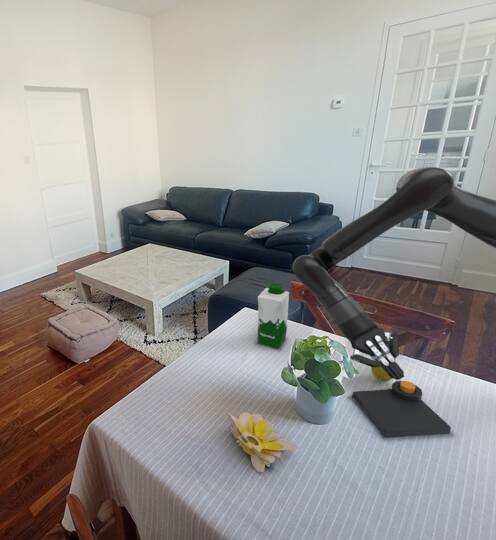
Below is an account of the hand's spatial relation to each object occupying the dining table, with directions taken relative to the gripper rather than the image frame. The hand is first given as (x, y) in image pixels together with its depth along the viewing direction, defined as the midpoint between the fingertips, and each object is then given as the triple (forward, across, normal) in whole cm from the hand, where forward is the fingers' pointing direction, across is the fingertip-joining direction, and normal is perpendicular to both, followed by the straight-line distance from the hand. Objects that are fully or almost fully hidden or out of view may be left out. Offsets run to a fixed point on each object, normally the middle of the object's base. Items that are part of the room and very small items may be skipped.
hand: (400, 378), depth 81 cm
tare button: (+4, +2, +6) cm, 7 cm away
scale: (+7, -5, +4) cm, 9 cm away
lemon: (+1, +1, +13) cm, 13 cm away
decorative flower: (-2, -39, -6) cm, 40 cm away
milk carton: (-23, -14, +28) cm, 39 cm away
